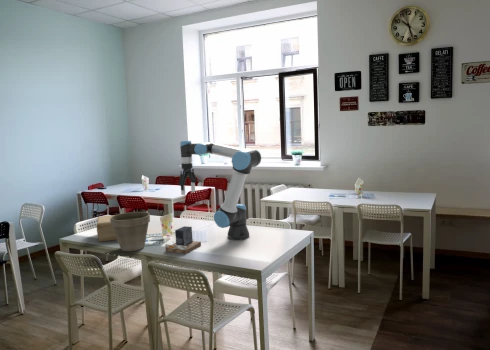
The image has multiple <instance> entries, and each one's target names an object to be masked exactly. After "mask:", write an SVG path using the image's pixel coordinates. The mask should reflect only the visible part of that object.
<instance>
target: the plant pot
mask: <svg viewBox="0 0 490 350" xmlns="http://www.w3.org/2000/svg"><path fill="white" fill-rule="evenodd" d="M110 222H111V226H112V227H113V229H114V231H115V234H116V237H117V240H116V241H117V242H118V244H119V247H120V249H121V251H122V252H123V251H124V252H137V251H139V250H140V251H141V250H143V249H144V248H145V246H146V245H145V244H146V240H147V235H148V234H147V233H148V231H149V230H148V228H149V223H150V222H151V213H150V212H145V211H131V212H123V213H118V214H114V216H112V217H111V218H110Z"/></svg>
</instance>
